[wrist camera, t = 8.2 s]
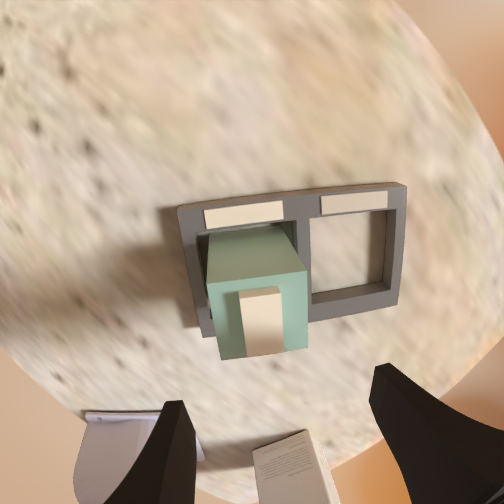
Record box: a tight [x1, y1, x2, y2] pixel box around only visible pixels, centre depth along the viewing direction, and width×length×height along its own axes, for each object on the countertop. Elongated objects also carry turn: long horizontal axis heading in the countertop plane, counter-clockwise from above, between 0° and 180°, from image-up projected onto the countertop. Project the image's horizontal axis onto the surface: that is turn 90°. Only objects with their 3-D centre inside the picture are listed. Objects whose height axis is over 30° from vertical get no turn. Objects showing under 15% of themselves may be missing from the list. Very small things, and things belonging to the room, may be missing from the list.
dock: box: [177, 182, 407, 338], centre depth 18 cm, size 13×8×1 cm, turn 96°
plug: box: [206, 225, 308, 360], centre depth 16 cm, size 4×4×7 cm
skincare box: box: [252, 430, 341, 504], centre depth 21 cm, size 6×4×12 cm
